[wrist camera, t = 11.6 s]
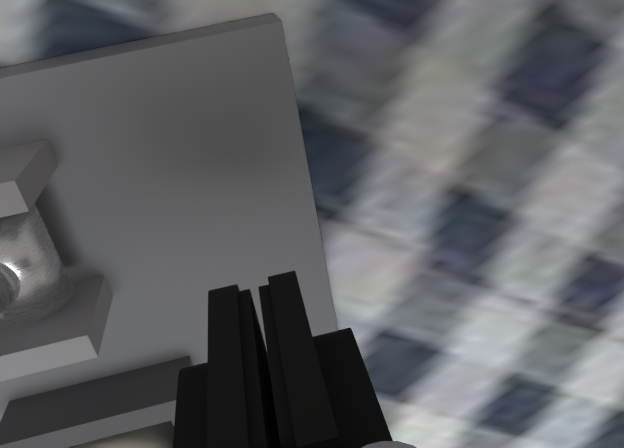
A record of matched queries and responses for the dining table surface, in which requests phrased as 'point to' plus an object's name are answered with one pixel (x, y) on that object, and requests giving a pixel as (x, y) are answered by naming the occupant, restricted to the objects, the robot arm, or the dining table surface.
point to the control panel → (150, 217)
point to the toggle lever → (30, 270)
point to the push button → (137, 438)
